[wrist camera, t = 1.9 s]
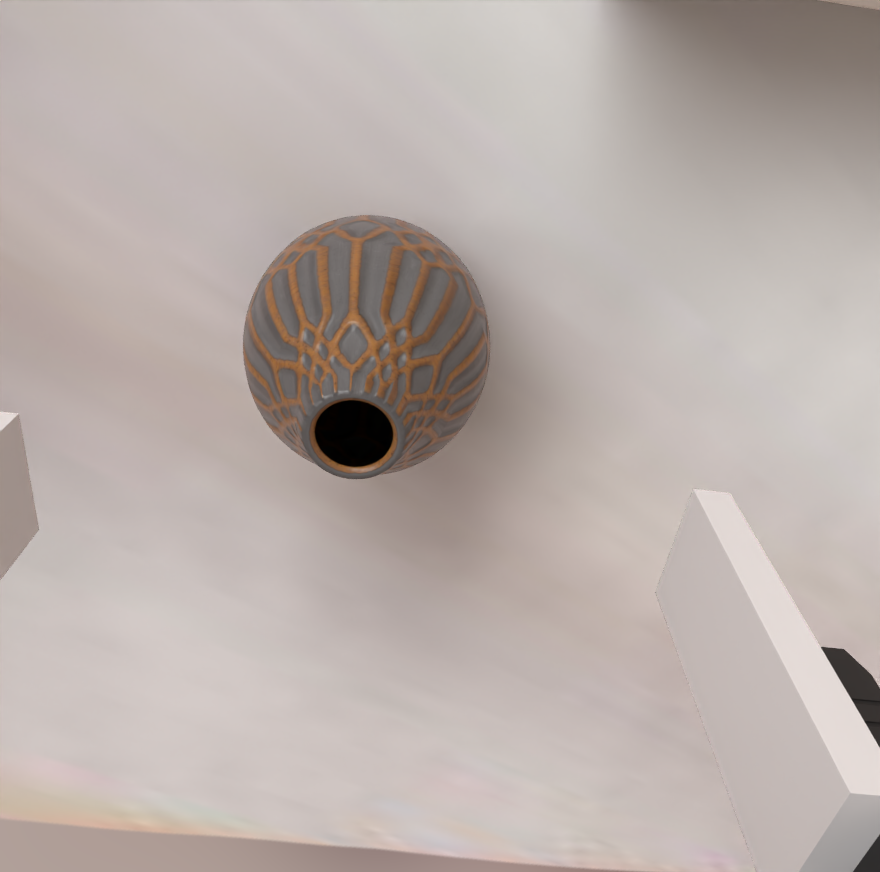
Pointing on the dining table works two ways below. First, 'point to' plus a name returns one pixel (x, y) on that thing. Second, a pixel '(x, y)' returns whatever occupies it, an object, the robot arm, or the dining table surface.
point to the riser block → (858, 3)
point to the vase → (366, 345)
